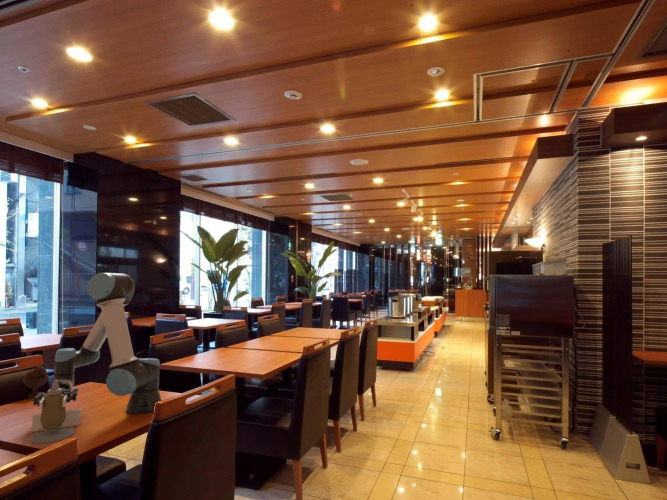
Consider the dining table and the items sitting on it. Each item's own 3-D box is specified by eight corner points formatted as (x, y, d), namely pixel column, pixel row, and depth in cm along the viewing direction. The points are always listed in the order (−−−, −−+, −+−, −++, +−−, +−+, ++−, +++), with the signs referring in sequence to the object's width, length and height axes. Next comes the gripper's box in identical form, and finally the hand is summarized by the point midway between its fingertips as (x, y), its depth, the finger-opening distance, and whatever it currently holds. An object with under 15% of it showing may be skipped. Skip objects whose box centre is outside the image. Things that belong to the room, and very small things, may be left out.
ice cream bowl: (43, 391, 215) (45, 363, 216) (50, 395, 208) (52, 366, 209) (19, 396, 207) (21, 366, 208) (25, 400, 200) (27, 369, 201)
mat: (82, 433, 156) (82, 430, 156) (44, 446, 143) (44, 443, 143) (59, 427, 161) (59, 425, 161) (21, 439, 149) (21, 437, 149)
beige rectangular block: (80, 423, 166) (80, 408, 167) (79, 424, 164) (80, 409, 165) (32, 429, 159) (33, 414, 159) (31, 431, 157) (32, 415, 158)
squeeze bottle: (43, 433, 147) (47, 383, 148) (36, 428, 152) (39, 380, 153) (68, 427, 153) (71, 379, 155) (60, 422, 158) (63, 376, 160)
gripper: (86, 396, 173) (82, 411, 153) (31, 402, 164) (19, 418, 144) (87, 378, 174) (83, 391, 154) (33, 383, 165) (20, 397, 145)
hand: (52, 404), depth 149 cm, fingers closed on squeeze bottle, 6 cm apart
